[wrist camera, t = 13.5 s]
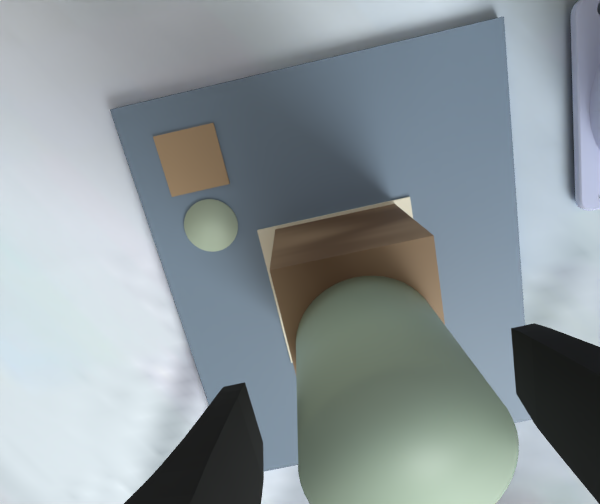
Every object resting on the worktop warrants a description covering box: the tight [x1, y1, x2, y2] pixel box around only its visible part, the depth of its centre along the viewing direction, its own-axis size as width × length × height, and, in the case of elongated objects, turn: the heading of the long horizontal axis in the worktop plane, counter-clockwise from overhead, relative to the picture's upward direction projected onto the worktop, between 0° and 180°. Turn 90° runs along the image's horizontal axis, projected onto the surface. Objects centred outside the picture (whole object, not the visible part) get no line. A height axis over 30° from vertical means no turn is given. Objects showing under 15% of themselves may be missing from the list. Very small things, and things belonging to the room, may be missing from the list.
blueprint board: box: [110, 17, 531, 471], centre depth 19 cm, size 15×18×1 cm
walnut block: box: [270, 204, 445, 373], centre depth 16 cm, size 5×5×5 cm
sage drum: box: [296, 276, 519, 504], centre depth 11 cm, size 5×5×5 cm
